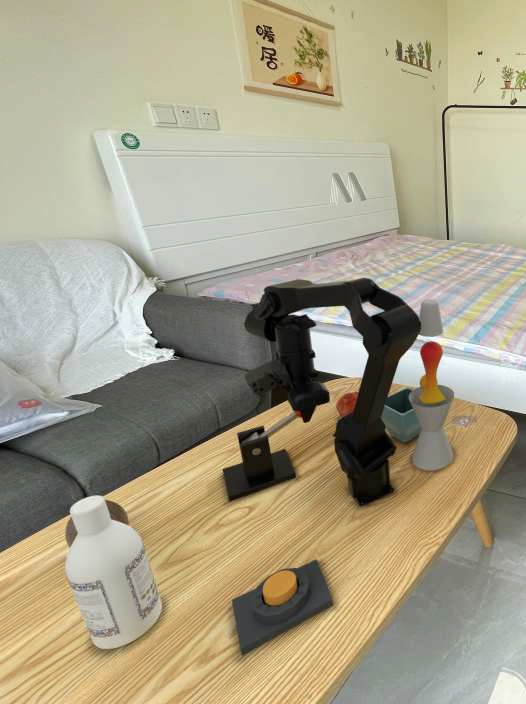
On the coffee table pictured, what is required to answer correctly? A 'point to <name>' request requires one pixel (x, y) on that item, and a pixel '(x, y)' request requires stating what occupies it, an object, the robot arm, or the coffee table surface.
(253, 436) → the lever
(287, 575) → the button
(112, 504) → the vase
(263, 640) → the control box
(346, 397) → the pomegranate
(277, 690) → the coffee table surface
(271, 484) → the bracket
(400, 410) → the flower pot
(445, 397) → the lava lamp
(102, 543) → the bath foam
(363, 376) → the robot arm
